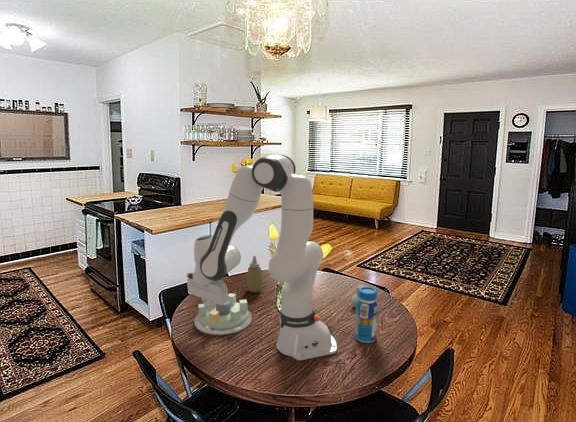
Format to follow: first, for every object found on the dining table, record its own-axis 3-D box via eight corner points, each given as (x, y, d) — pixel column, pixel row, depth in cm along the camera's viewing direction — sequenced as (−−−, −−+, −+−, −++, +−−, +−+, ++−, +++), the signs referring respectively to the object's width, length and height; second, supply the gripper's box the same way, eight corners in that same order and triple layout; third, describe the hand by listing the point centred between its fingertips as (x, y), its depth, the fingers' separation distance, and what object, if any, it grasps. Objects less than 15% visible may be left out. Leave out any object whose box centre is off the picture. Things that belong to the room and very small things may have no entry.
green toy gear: (212, 303, 168) (212, 290, 166) (254, 309, 162) (254, 296, 161) (189, 325, 148) (188, 311, 147) (236, 333, 143) (236, 318, 142)
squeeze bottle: (260, 286, 191) (260, 253, 187) (264, 292, 183) (264, 258, 180) (245, 288, 188) (244, 254, 185) (248, 294, 181) (248, 259, 177)
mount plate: (250, 305, 169) (250, 300, 168) (253, 333, 146) (253, 326, 145) (197, 308, 165) (196, 303, 165) (191, 337, 142) (191, 330, 142)
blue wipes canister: (350, 334, 146) (352, 287, 142) (368, 330, 149) (371, 284, 145) (361, 345, 138) (364, 296, 134) (380, 341, 141) (384, 292, 137)
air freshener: (349, 310, 166) (350, 289, 164) (351, 302, 174) (352, 282, 172) (374, 313, 164) (375, 292, 162) (374, 304, 172) (376, 284, 170)
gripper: (231, 279, 141) (232, 312, 143) (196, 268, 153) (197, 299, 155) (219, 284, 136) (221, 318, 138) (183, 273, 148) (185, 305, 150)
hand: (208, 308), depth 147 cm, fingers closed
